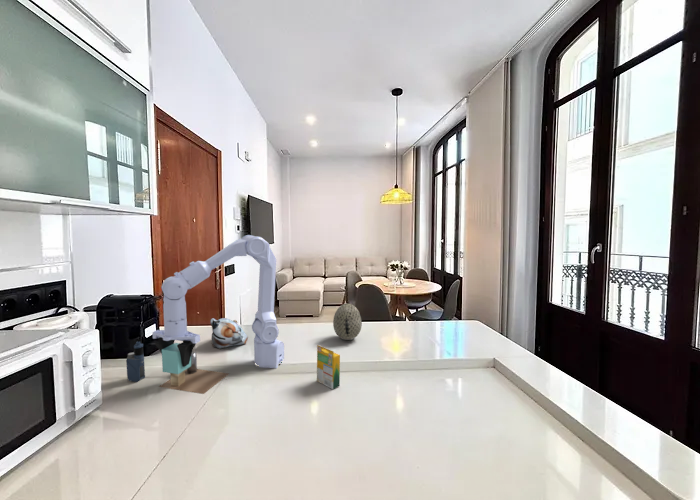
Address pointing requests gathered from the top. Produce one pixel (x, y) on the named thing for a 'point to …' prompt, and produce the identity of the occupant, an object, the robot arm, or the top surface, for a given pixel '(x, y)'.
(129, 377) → the vaping device
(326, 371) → the crayon box
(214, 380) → the board
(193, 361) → the metal post
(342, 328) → the decorative egg
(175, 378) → the maple post
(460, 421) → the top surface
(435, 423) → the top surface
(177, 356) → the teal foam cube
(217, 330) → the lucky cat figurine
